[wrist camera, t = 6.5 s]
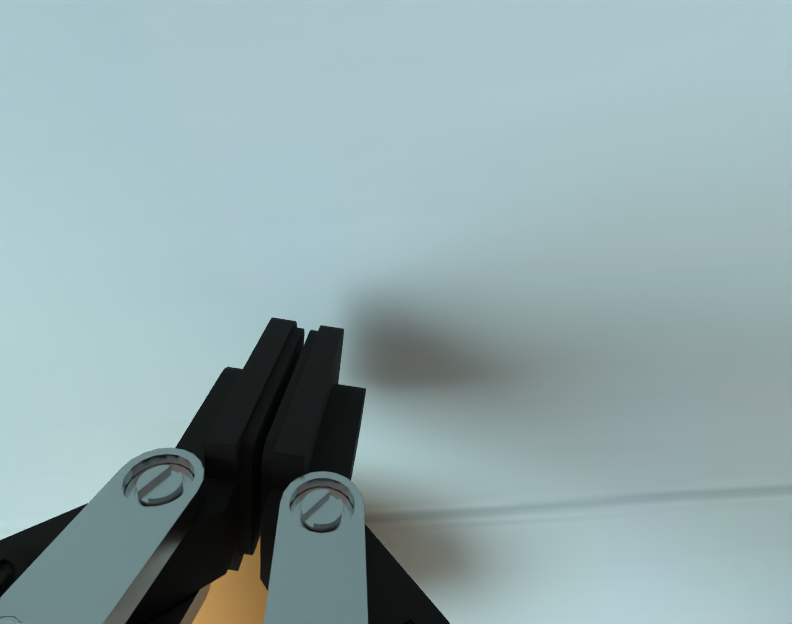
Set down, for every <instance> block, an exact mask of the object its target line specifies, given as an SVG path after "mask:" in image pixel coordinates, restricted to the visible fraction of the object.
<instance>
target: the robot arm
mask: <svg viewBox="0 0 792 624" xmlns="http://www.w3.org/2000/svg"><path fill="white" fill-rule="evenodd" d="M343 336H344V329H341V328H335V327H329V326H322V325H321V326H320V328H319V330H318V331H315V330H310V332H309V334H308V337H307V339H306V342H305V344H304V329H302V328H297V323H296V321H291V320H285V319H279V318H271V320H270V321H269V323H268V325H267V327H266V329H265V330H264V332H263V334H262V336H261V338H260V339H259V341H258V343H257V345H256V347H255V348H254V350H253V352H252V354H251V355H250V357H249V359H248V361H247V363H246V364H245V366H244V368H243V369H238V368H232V367H227V368H225V369H224V370H223V372H222V373H221V375H220V376H219V378H218V379H217V381H216V383H215V384H214V386H213V388H212V389H211V391H210V392H209V394H208V396H207V397H206V399H205V401H204V402H203V404H202V405H201V407H200V409H199V410H198V412H197V414H196V415H195V417H194V418H193V420H192V422H191V423H190V425H189V427H188V428H187V430H186V431H185V433H184V435H183V436H182V438H181V440H180V441H179V443H178V444H177V446H176V448H162V449H155V450H152V451H148V452H145V453H143V454H141V455H139V456H137V457H135V458H133V459H131V460H130V461H129V462H128V463H127V464H125V465H124V466H123V467H122V468H121V469H120V470H119V471H118V472H117V473H116V474H115V475H114V476H113V477H112V478H111V480H110V481H109V482H108V483H107V484H106V485H105V486H104V487H103V488H102V489H101V490H100V491H99V492H98V493H97V495H96V496H95V497H94V498H93V499H92V500H91V501H90V502H89V503H87V504H85V505H83V506H80V507H78V508H75V509H73V510H71V511H68V512H66V513H64V514H61V515H59V516H57V517H54V518H52V519H49V520H47V521H45V522H42V523H40V524H38V525H35V526H33V527H31V528H28V529H26V530H23V531H21V532H19V533H16V534H14V535H12V536H9V537H7V538H4V539H2V540H0V624H192V623H193V621H194V619H195V617H196V615H197V614H198V612H199V610H200V608H201V606H202V605H203V603H204V601H205V599H206V597H207V595H208V592H209V590H210V584H211V583H212V582H213V581H215V580H217V579H218V578H220V577H222V576H223V575H225V574H226V573H227V571H228V570H234V571H238V570H239V567H240V565H241V562H242V559H243V556H244V554H246V555H253V554H254V552H255V549H256V546H257V543H258V540H259V538H260V579H261V581H262V583H263V584H264V586H265V587H266V589H267V591H268V595H267V603H266V610H265V617H264V624H450V623H449V621H448V620H447V619H446V618H445V617H444V616H443V614H442V613H441V612H440V611H439V610H438V609H437V607H436V606H435V605H434V604H433V603H432V602H431V600H430V599H429V598H428V597H427V596H426V595H425V593H424V592H423V591H422V590H421V589H420V588H419V586H418V585H417V584H416V583H415V582H414V581H413V580H412V578H411V577H410V576H409V575H408V574H407V573H406V571H405V570H404V569H403V568H402V567H401V566H400V564H399V563H398V562H397V561H396V560H395V559H394V557H393V556H392V555H391V554H390V553H389V552H388V550H387V549H386V548H385V547H384V546H383V545H382V543H381V542H380V541H379V540H378V539H377V538H376V536H375V535H374V534H373V533H372V532H371V531H370V529H369V528H368V527H367V526H366V525H365V521H364V503H363V499H362V494H361V493H360V491H359V490H358V488H357V486H356V485H355V484H354V483H352V482H351V477H352V472H353V466H354V461H355V455H356V449H357V444H358V438H359V432H360V426H361V420H362V413H363V407H364V400H365V393H366V389H365V388H359V387H352V386H346V385H340V384H338V380H339V371H340V362H341V354H342V345H343Z"/></svg>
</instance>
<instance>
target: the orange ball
mask: <svg viewBox="0 0 792 624" xmlns="http://www.w3.org/2000/svg"><path fill="white" fill-rule="evenodd" d="M267 595H268V591H267V589H266V587H265V586H264V584H263V583H262V581H261V579H260V538H259V540H258V543H257V546H256V549H255V552H254V554H253V555H246V554H244V556H243V559H242V562H241V565H240V567H239V570H238V571H234V570H228V571H227V573H226V574H225V575H223V576H222V577H220V578H218V579H217V580H215V581H213V582H212V583H211V584H210V590H209V592H208V595H207V597H206V599H205V601H204V603H203V605H202V606H201V608H200V610H199V612H198V614H197V615H196V617H195V619H194V621H193V623H192V624H264V617H265V610H266V603H267Z"/></svg>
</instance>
